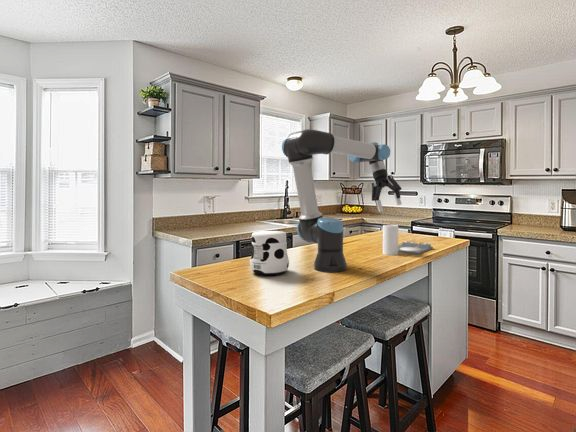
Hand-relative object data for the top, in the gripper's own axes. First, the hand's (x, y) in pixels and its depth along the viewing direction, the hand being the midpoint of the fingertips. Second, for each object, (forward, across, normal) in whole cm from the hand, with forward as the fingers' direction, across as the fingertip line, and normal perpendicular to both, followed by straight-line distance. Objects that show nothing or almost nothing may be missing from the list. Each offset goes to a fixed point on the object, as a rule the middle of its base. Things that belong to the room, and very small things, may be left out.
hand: (390, 208), depth 187 cm
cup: (+24, +13, -4) cm, 28 cm away
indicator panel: (+25, +15, -22) cm, 36 cm away
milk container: (+18, +11, +72) cm, 75 cm away
